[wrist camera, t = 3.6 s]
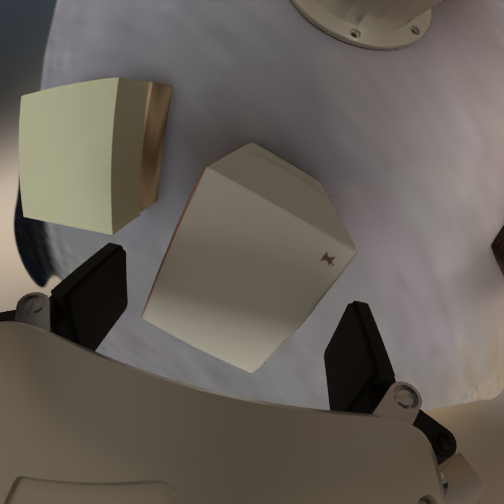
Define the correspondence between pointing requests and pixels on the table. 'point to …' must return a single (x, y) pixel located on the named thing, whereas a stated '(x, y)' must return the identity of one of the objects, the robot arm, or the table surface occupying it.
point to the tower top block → (83, 153)
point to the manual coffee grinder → (499, 250)
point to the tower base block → (153, 141)
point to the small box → (248, 258)
